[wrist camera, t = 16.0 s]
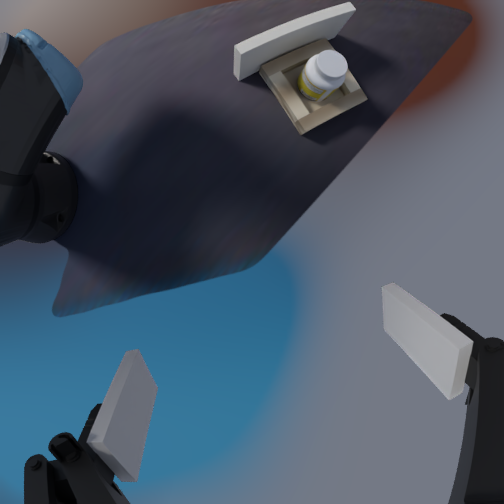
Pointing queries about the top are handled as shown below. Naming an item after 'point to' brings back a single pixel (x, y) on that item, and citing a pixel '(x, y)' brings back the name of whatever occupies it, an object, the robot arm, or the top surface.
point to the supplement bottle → (322, 75)
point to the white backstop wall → (289, 38)
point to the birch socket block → (297, 107)
